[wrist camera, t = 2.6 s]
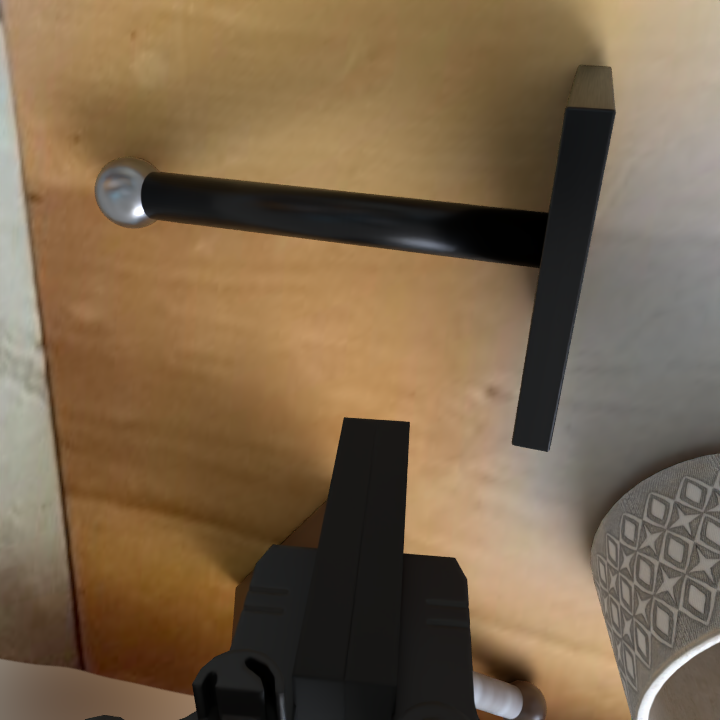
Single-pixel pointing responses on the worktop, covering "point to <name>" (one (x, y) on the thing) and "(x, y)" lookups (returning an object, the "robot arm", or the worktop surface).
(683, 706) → the planter
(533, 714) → the paper towel stand
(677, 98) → the worktop surface
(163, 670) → the worktop surface
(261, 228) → the black holder
